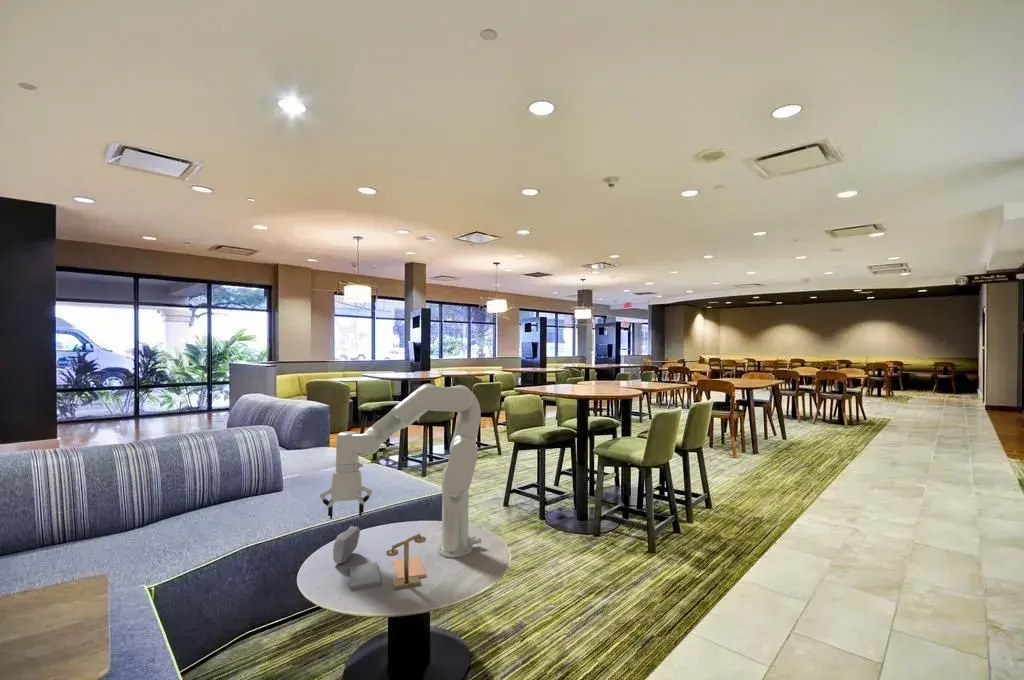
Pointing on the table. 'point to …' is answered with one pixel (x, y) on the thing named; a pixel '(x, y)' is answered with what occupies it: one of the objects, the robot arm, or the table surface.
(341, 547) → the stone block
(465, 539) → the robot arm
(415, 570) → the terracotta mat
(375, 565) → the slate mat
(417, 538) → the balance
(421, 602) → the table surface
